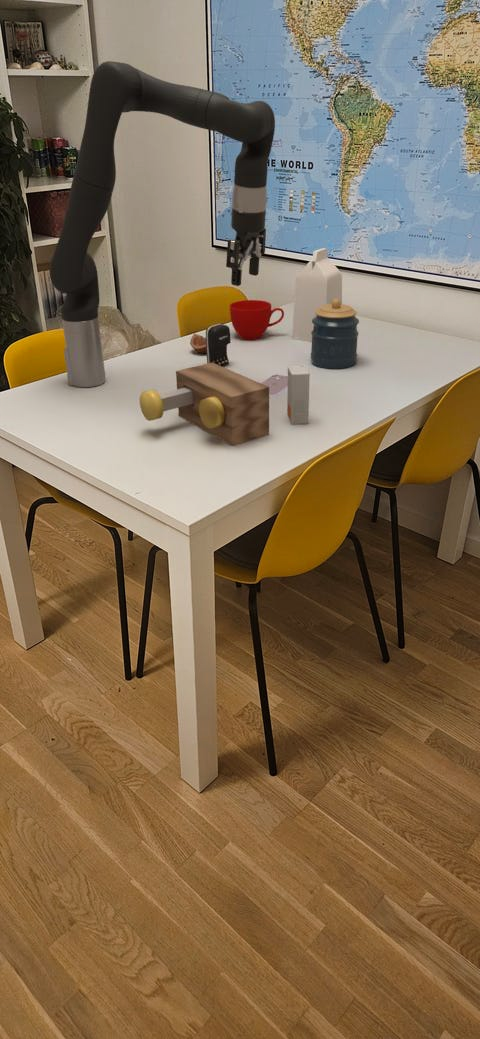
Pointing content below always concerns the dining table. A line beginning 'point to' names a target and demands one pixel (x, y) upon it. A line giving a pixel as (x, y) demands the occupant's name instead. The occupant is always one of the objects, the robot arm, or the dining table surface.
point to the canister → (334, 336)
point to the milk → (314, 292)
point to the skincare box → (298, 394)
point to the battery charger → (217, 344)
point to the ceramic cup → (252, 318)
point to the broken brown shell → (198, 343)
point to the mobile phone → (276, 384)
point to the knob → (164, 401)
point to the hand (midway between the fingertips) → (244, 279)
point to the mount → (225, 403)
